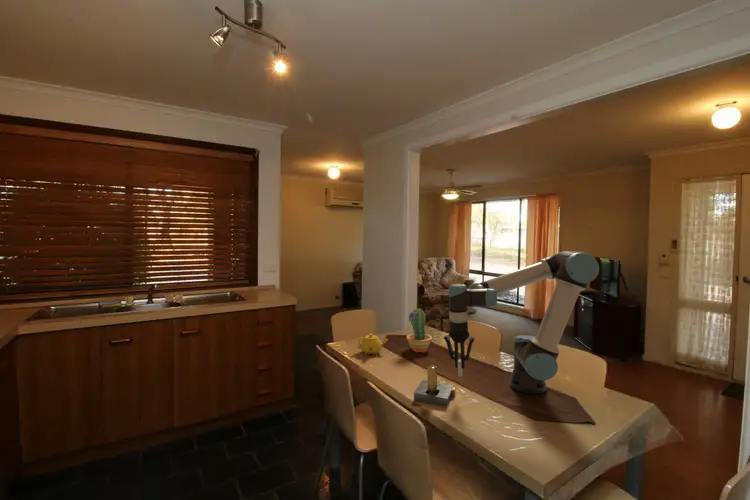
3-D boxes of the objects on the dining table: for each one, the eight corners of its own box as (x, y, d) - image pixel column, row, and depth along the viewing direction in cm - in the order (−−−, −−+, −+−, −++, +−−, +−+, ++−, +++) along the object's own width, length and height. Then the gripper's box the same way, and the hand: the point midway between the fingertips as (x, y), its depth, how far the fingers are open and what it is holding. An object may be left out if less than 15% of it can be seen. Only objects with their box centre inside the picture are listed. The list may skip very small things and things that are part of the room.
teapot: (371, 359, 194) (370, 339, 194) (355, 353, 204) (354, 334, 203) (388, 352, 204) (388, 334, 204) (372, 347, 214) (372, 329, 213)
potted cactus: (404, 346, 215) (403, 306, 214) (428, 345, 217) (428, 305, 215) (409, 355, 200) (409, 312, 198) (435, 353, 201) (435, 311, 200)
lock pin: (455, 394, 151) (455, 387, 151) (454, 397, 148) (454, 390, 148) (425, 388, 156) (425, 382, 156) (423, 391, 153) (423, 385, 153)
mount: (453, 392, 153) (453, 384, 152) (447, 407, 140) (447, 398, 140) (422, 387, 158) (422, 379, 158) (413, 401, 145) (413, 392, 145)
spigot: (438, 398, 147) (437, 366, 147) (436, 402, 143) (435, 369, 143) (429, 396, 149) (428, 364, 148) (426, 401, 145) (426, 368, 144)
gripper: (475, 319, 148) (477, 373, 149) (445, 317, 153) (446, 370, 154) (473, 323, 141) (474, 380, 142) (441, 322, 146) (443, 376, 147)
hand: (460, 375), depth 148 cm, fingers closed
